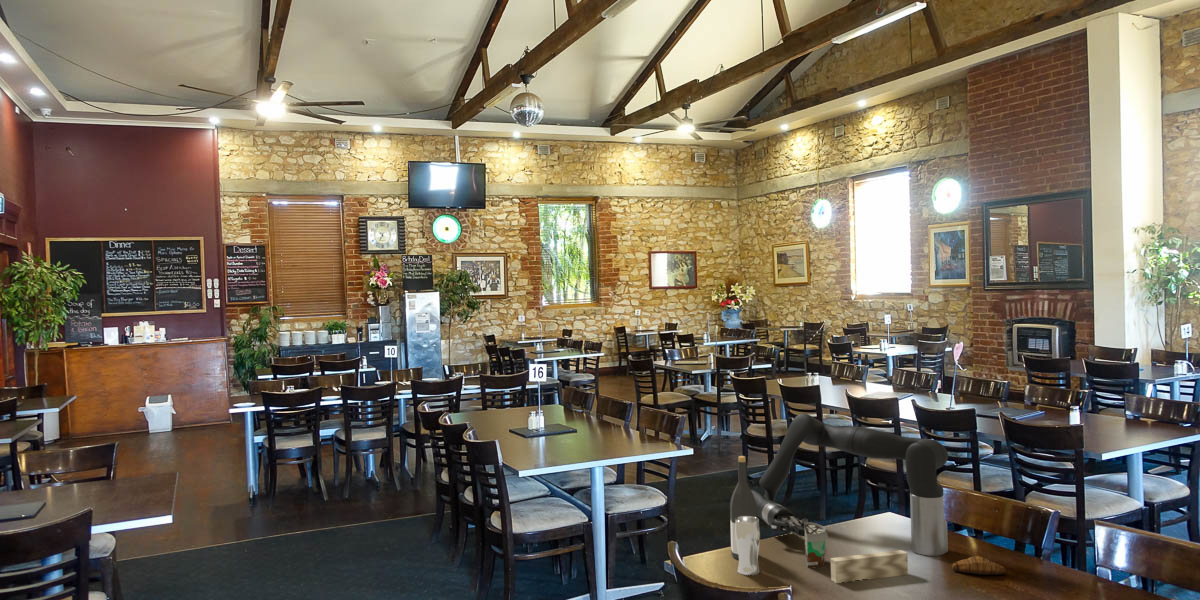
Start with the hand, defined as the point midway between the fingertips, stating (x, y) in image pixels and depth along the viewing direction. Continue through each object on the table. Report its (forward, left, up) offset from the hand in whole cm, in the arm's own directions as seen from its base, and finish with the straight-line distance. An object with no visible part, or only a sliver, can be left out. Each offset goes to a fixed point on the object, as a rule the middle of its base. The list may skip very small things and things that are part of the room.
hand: (803, 533), depth 223 cm
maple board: (-8, +23, -6) cm, 25 cm away
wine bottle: (+18, -3, -6) cm, 19 cm away
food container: (0, +8, -6) cm, 10 cm away
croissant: (-38, +28, -6) cm, 48 cm away
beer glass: (+22, +9, -6) cm, 25 cm away
